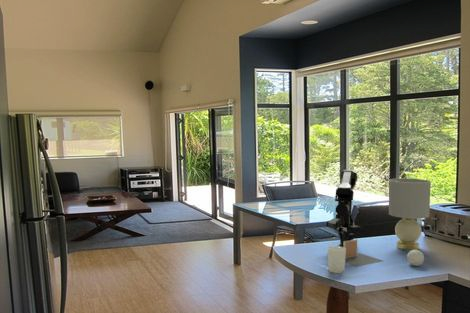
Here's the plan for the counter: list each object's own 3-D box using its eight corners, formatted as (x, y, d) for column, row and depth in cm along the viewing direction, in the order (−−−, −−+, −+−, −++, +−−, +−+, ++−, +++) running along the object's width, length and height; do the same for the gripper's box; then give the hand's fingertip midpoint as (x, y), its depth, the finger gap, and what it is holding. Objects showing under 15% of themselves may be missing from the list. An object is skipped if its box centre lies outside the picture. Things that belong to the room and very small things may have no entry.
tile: (343, 257, 229) (343, 241, 229) (355, 255, 234) (355, 239, 233) (344, 258, 228) (345, 241, 228) (357, 256, 233) (357, 239, 232)
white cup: (335, 274, 205) (335, 251, 205) (323, 269, 212) (323, 247, 211) (349, 272, 209) (349, 249, 208) (337, 267, 216) (338, 245, 215)
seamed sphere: (422, 263, 222) (422, 248, 222) (425, 268, 215) (426, 252, 215) (399, 262, 224) (399, 247, 224) (402, 267, 217) (402, 251, 216)
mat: (331, 259, 229) (331, 257, 229) (359, 254, 238) (359, 252, 238) (356, 267, 215) (356, 266, 215) (384, 262, 224) (384, 260, 224)
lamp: (383, 248, 249) (385, 180, 246) (392, 241, 266) (394, 177, 264) (424, 254, 238) (426, 183, 236) (431, 246, 255) (433, 179, 253)
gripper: (318, 210, 238) (317, 241, 239) (345, 217, 222) (344, 250, 223) (335, 208, 243) (334, 239, 245) (362, 214, 228) (361, 247, 229)
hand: (343, 244), depth 235 cm, fingers closed
